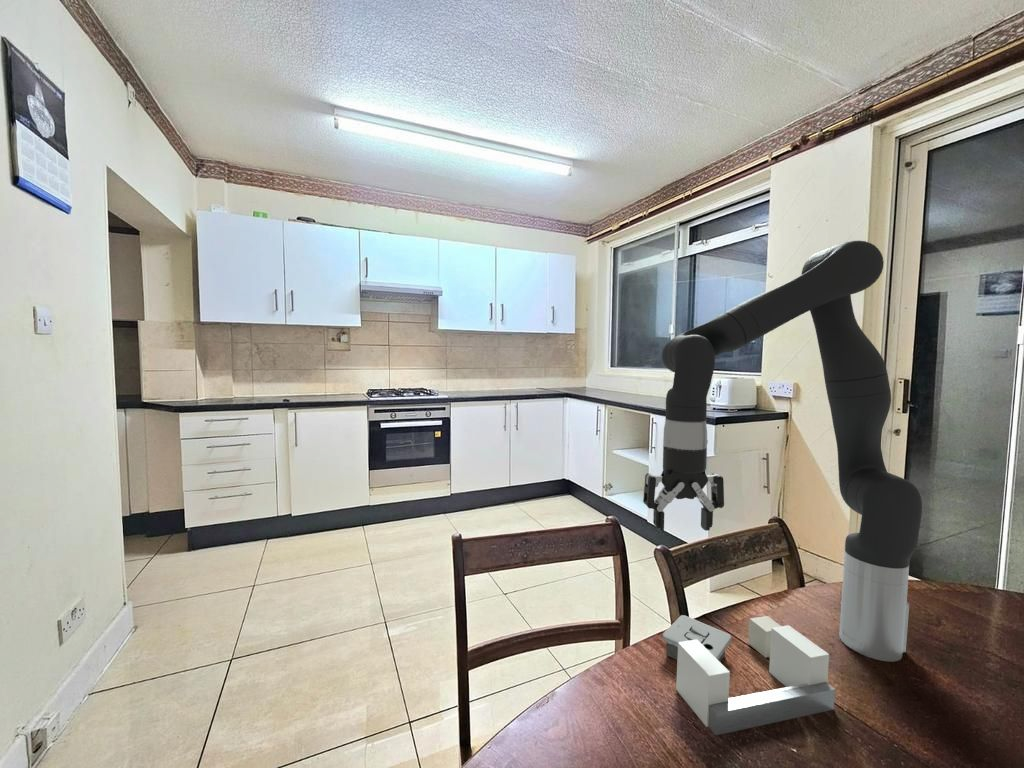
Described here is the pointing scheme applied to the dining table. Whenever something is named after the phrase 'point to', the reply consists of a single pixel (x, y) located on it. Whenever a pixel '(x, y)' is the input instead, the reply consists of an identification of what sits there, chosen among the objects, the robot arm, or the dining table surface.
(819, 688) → the grey rectangular bar
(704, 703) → the block
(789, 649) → the block
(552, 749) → the dining table surface
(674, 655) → the electrical switch
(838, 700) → the dining table surface
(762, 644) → the block
